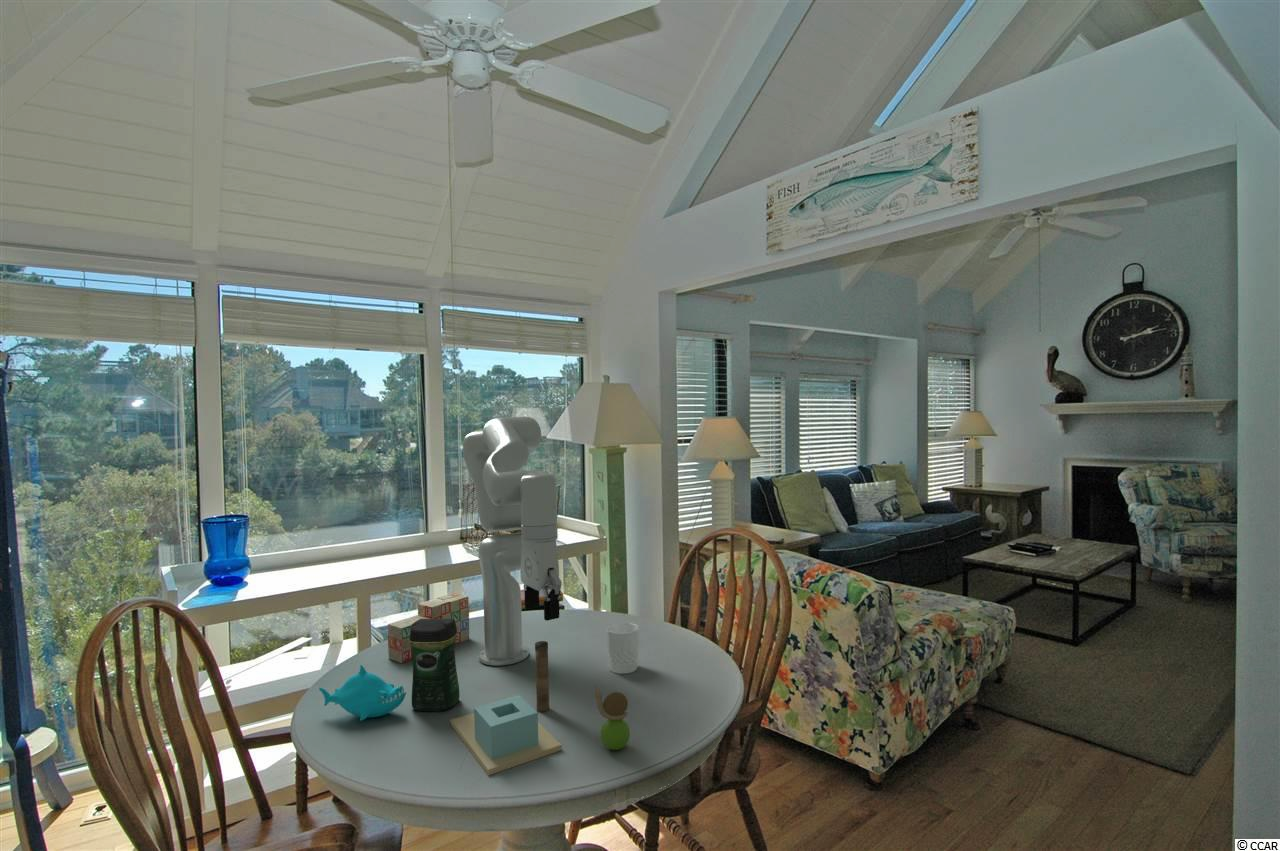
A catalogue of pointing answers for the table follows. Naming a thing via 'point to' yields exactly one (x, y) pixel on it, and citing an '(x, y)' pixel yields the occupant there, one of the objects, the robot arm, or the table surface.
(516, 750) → the shape sorter toy
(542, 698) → the brown wooden rod
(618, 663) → the white cup
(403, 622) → the stack of blocks
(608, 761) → the table surface
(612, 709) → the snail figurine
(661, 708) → the table surface
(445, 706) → the coffee jar
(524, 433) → the robot arm
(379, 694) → the toy shark
